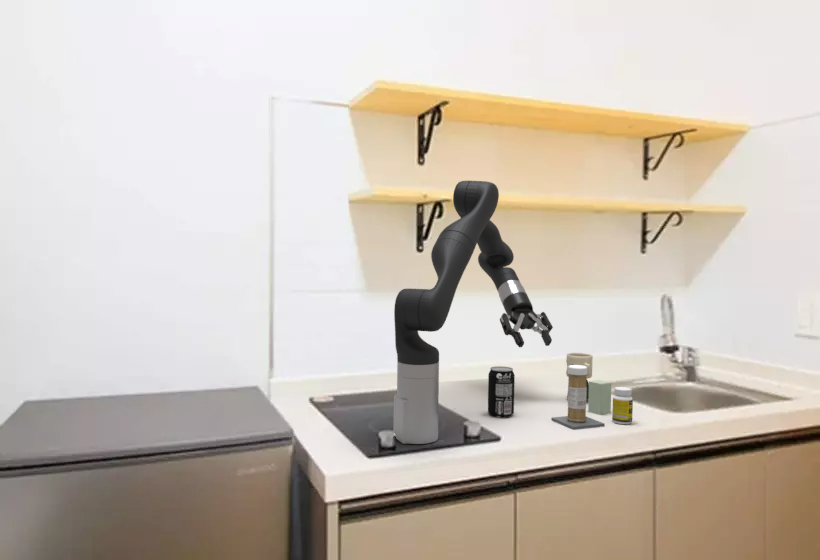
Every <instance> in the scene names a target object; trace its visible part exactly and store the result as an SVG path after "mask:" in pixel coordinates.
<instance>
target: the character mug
mask: <svg viewBox="0 0 820 560" xmlns="http://www.w3.org/2000/svg"><path fill="white" fill-rule="evenodd" d="M565 362H566V370H565V374H566V377H568V378H569V375H568V366H570V365H583V366H586V367H587V376H586V387H587V391H586V401H587V400H588V398H589V381H588V379H590V378H592V377H593V354H591V353H584V352H569V353H566V361H565ZM566 398H567V399H568V393H567V396H566Z"/></svg>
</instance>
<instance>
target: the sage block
mask: <svg viewBox="0 0 820 560" xmlns="http://www.w3.org/2000/svg"><path fill="white" fill-rule="evenodd" d="M588 383H589V398H588V399H587V400H588V403H587V404H588V405H587V406H588V407H587V412H589V413H591V414H594V415H595V414H596V415H599V416H603V415H608V414H612V413H611V412H612V411H611V410H612V407H611V406H612V382H610V381H605V380H602V379H598V380H597V379H596V380H590V381H588Z"/></svg>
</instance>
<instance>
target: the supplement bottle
mask: <svg viewBox="0 0 820 560" xmlns="http://www.w3.org/2000/svg"><path fill="white" fill-rule="evenodd" d="M632 390H633V389H632V388H629V387H625V386H616V387H614V392H613V393H614V395H613V396H612V408H611V410H612V411H611V412H612V413H611V415H612V417H611V420H612V422H613V423H615V424H617V425H631V424H633V407H634V406H633V405H634V400H633V399H634V398H633V397H632V394H633V393H632V392H633V391H632Z"/></svg>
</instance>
